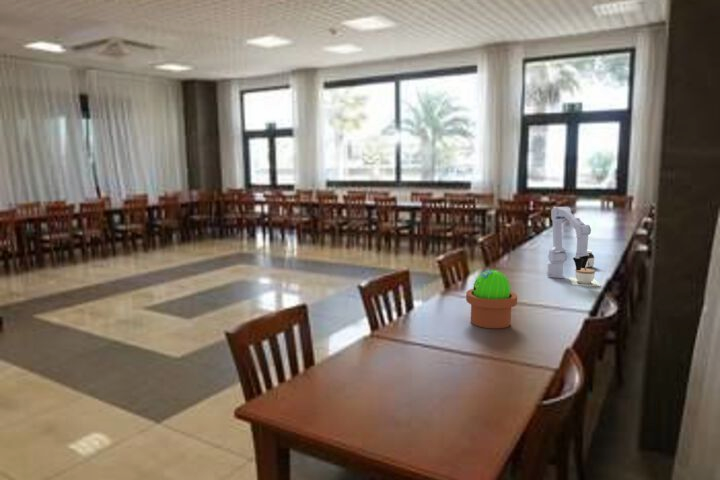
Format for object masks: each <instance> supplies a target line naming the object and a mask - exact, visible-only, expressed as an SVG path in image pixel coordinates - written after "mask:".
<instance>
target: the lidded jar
mask: <svg viewBox="0 0 720 480" xmlns="http://www.w3.org/2000/svg"><path fill="white" fill-rule="evenodd" d="M574 270H575V278H576V279H577V280H578V281H579V283H582V284H590V282H592V281H593V279H595V275H596V270H595V269H591V268H586V267H585V268H581V270H576V269H574Z"/></svg>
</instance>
